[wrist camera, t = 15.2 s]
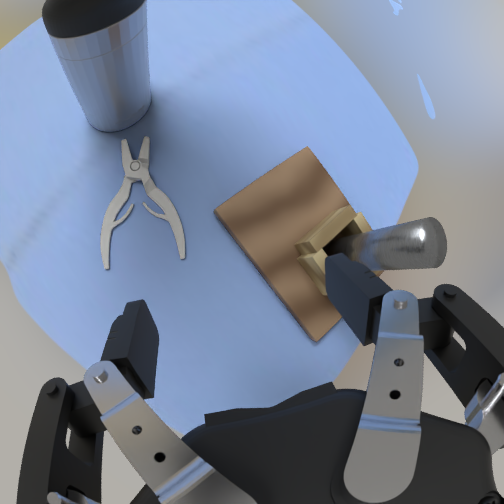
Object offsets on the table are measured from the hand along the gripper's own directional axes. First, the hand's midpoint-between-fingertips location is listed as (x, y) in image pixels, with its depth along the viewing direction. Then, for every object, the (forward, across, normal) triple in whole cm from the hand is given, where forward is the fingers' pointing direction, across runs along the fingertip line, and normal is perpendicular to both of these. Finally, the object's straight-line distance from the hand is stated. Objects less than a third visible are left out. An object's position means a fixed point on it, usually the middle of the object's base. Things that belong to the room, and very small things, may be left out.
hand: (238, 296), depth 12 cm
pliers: (+22, +9, -1) cm, 24 cm away
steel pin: (+18, -13, +10) cm, 24 cm away
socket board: (+20, -11, +8) cm, 24 cm away
